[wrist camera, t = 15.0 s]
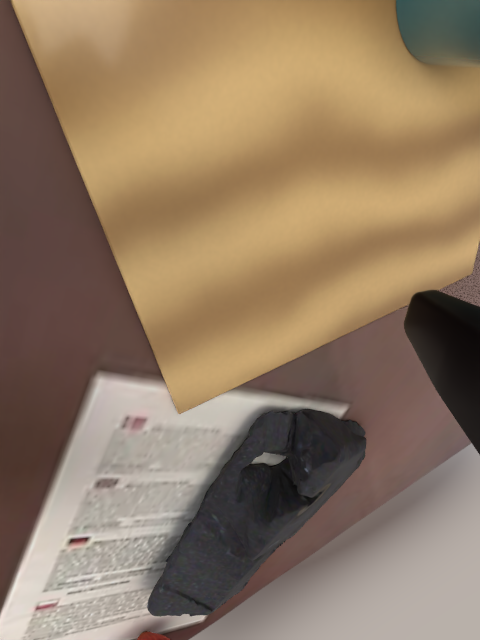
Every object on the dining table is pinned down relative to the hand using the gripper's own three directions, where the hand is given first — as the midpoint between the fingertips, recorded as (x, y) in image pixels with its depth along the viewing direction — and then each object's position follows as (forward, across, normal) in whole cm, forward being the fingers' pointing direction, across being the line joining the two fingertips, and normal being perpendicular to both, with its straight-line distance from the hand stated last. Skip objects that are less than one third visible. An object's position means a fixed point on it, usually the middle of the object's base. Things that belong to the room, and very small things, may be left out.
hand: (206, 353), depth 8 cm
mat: (+14, -9, +2) cm, 17 cm away
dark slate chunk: (+11, -3, +30) cm, 32 cm away
